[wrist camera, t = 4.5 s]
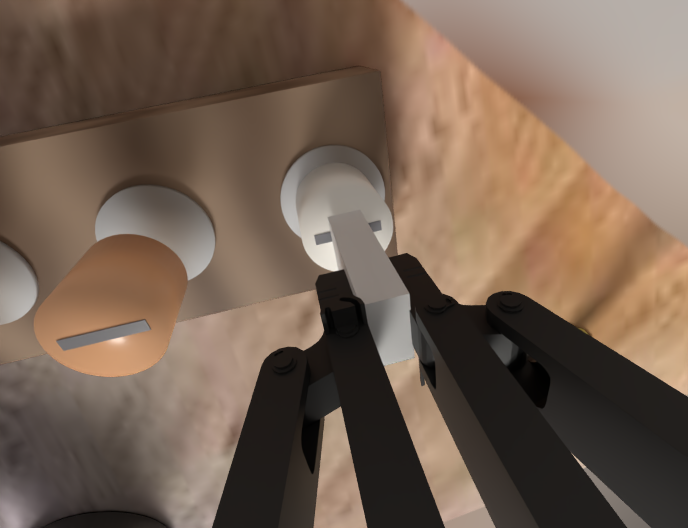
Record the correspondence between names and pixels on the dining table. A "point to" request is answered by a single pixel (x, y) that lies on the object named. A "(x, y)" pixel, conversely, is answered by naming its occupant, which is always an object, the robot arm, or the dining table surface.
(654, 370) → the dining table surface
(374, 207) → the knob
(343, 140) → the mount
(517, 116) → the dining table surface
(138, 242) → the knob middle
